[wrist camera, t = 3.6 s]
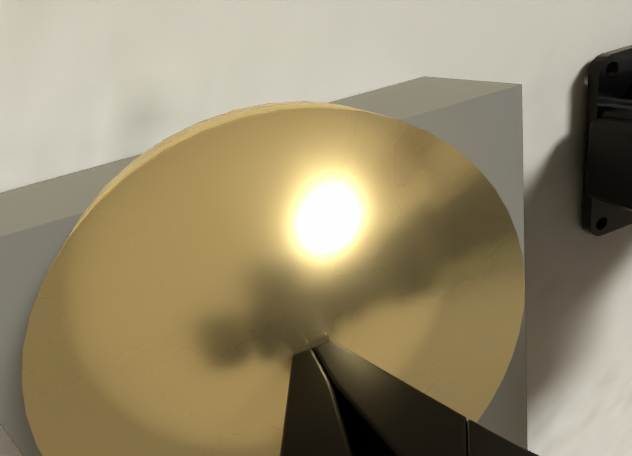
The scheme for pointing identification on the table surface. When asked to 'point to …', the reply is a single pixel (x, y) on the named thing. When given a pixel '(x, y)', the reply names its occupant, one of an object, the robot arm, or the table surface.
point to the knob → (268, 282)
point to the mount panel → (393, 101)
